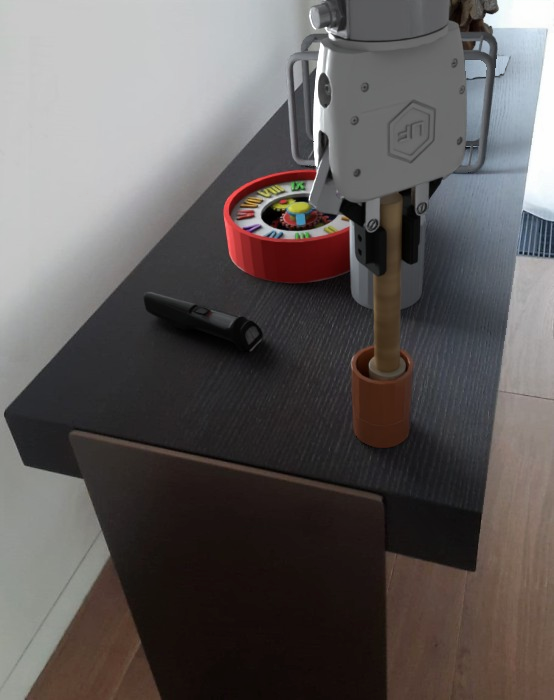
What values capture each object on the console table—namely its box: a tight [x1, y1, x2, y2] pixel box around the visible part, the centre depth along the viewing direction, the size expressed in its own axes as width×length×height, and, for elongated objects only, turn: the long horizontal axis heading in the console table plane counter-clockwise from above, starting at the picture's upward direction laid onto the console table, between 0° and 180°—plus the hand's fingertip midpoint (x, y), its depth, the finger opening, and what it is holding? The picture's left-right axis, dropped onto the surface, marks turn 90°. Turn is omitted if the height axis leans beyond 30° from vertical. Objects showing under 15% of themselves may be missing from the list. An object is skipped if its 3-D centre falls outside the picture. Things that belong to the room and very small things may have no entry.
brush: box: [369, 192, 406, 381], centre depth 58 cm, size 3×3×19 cm
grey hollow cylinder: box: [349, 213, 427, 311], centre depth 81 cm, size 8×8×10 cm
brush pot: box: [350, 344, 415, 449], centre depth 64 cm, size 5×5×8 cm
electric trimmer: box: [143, 291, 264, 352], centre depth 81 cm, size 4×16×3 cm, turn 58°
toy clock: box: [223, 169, 350, 284], centre depth 93 cm, size 20×6×20 cm
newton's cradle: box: [285, 32, 499, 174], centre depth 108 cm, size 30×10×18 cm, turn 74°
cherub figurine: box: [449, 0, 500, 50], centre depth 140 cm, size 18×18×18 cm
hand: (387, 260), depth 55 cm, fingers closed on brush, 2 cm apart
